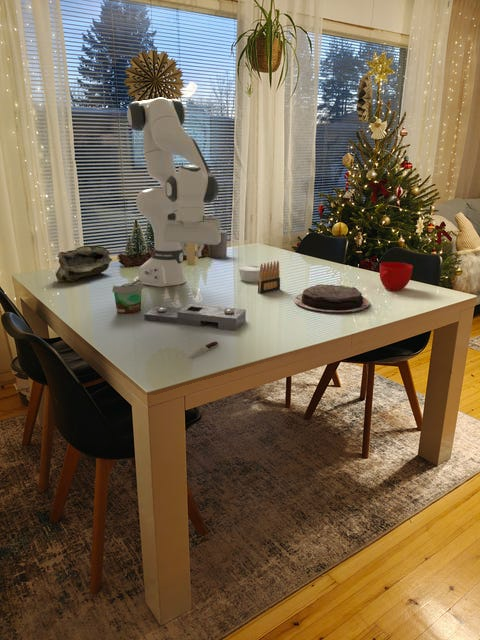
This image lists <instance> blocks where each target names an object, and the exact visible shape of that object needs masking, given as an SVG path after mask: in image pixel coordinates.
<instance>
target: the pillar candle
mask: <svg viewBox="0 0 480 640" xmlns="http://www.w3.org/2000/svg"><path fill="white" fill-rule="evenodd" d="M220 233H221V242H220V243H219V244H217V245H210V244H208V258H210V259H225V258H227V256H228V255H227V254H228V252H227V251H228V249H227V248H228V230H225V229H224V230H223V229H220Z"/></svg>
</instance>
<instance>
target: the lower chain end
mask: <svg viewBox="0 0 480 640" xmlns="http://www.w3.org/2000/svg"><path fill="white" fill-rule="evenodd" d="M182 308H183V307H175V306H174V307H173V306H165V305H164V306H163V305H156V306H155V307H154V308H152V309H150V310H148V311H147V312H146V313H144V314H143V315H144V318H143V319H144V321H151V322H158V323H168V324H175V325H176V324H177V325H185V326H193V327H202V326H203V325H204V324H205V323H206V322H208V321H200V320H191V319H182V318H177V312H178V311H180V310H181V309H182Z"/></svg>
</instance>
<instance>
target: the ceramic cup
mask: <svg viewBox="0 0 480 640" xmlns="http://www.w3.org/2000/svg"><path fill="white" fill-rule="evenodd" d="M413 269H414V266H413V265H412V264H410V263H406V262H398V261H387V262H384V261H383V262H381V263H379V280H380V282H381V284H382V286H383V287H384V289H385V290H387V291H389V292H390V291H392V292H400V291H402V290H403V289H404V288H406V287H407V286H408V284H409V282H410V281H411V278H412V274H413Z"/></svg>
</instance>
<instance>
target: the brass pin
mask: <svg viewBox="0 0 480 640" xmlns="http://www.w3.org/2000/svg"><path fill="white" fill-rule="evenodd" d="M185 246H186V253H187V256H186V266H192V267H195V266H197V265H199V257H197V256H195V251H198V249H199V247H198V244H196V243H186V245H185Z"/></svg>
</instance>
